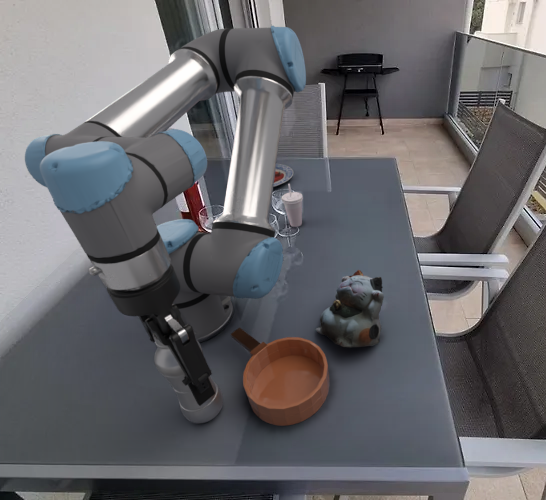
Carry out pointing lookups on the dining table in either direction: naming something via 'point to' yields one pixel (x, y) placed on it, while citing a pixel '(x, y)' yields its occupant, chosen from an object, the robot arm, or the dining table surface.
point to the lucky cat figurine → (354, 312)
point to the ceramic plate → (282, 174)
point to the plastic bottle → (186, 399)
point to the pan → (287, 381)
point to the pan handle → (247, 341)
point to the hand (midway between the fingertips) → (194, 385)
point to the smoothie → (293, 207)
